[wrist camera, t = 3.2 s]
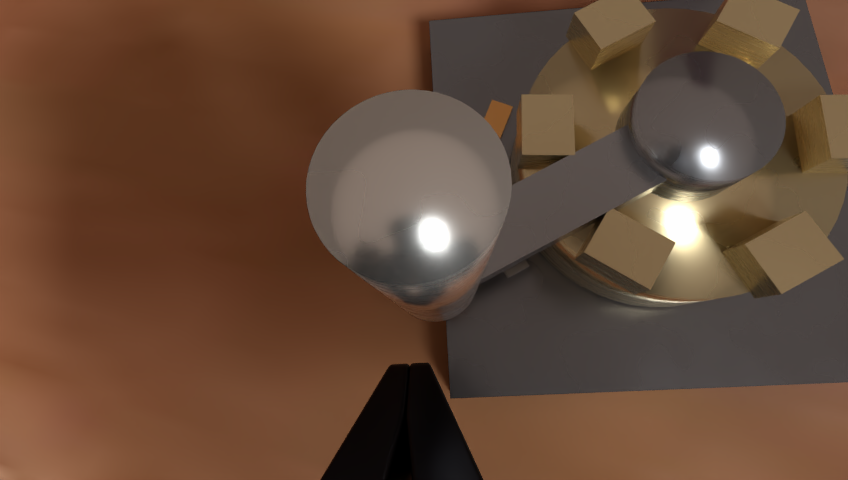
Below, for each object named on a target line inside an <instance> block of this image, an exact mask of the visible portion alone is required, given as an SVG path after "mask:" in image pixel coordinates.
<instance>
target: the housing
mask: <svg viewBox="0 0 848 480" xmlns="http://www.w3.org/2000/svg"><path fill="white" fill-rule="evenodd" d="M778 1H780V2H782V3H785V4H787V5H789V6H792V7H794V8H797V9H799V10H800V11H799V13H798V15H797V17H796V19H795V20H794V22H793V24H792V26H791V28H790V30H789V32H788V34H787V35H786V37H785V39H784V41H783V43H782V45H781V46H783V47H784V48H785V49H786V50H788V51H789V52H790V53H791V54H792V55H794V56H795V57H796V58H797V59H798V60H799V61H800V62H801V63H802V64H803V65H804V66H805V67H806V68H807V69H808V70H809V71H810V72H811V73H812V75H813V76H814V77H815V79H816V80H817V81H818V82H819V84H820V85H821V86H822V88H823V89H824V91H825V93H826V94H827V95H833V93H832V89H831V86H830V83H829V79H828V76H827V72H826V69H825V65H824V62H823V59H822V55H821V52H820V48H819V45H818V42H817V38H816V35H815V31H814V28H813V24H812V21H811V18H810V14H809V11H808V7H807V4H806V0H778ZM723 2H724V0H667V1H655V2H644V3H642V4H643V5H644V7H645V8H646V9H662V8H672V9H689V10H696V11H702V12H708V13H711V14H715V13H716V11H717V9H718V8H719V7H720V6H721V4H722V3H723ZM580 9H582V8H574V9H562V10H550V11H539V12H527V13H515V14H504V15H492V16H480V17H469V18H457V19H445V20H434V21H429V26H430V44H431V61H432V79H433V92H437V93H440V94H444V95H447V96H450V97H452V98H454V99H457V100H459V101H461V102H463V103H464V104H466V105H468V106H469V107H471V108H472V109H474V110H475V111H476V112H477V113H479V114H480V115H481V116H482V117H483V118H484V119H485V120H486V121H487V122H488V123H489V124H490V125H491V127H492V128H493V129H494V131H495V132H496V133H497V135H498V136H499V138H500V140H501V142H502V144H503V146H504V148H505V151H506V154H507V156H508V160H509V164H510V165H511V155H512V150H513V146H514V141H515V138H516V134H517V109H518V106H519V102H520V98H521V94H529V93H530V90H531V88H532V86H533V84H534V82H535V81H536V79H537V77H538V75H539V73H540V72H541V70H542V69H543V68H544V66H545V65H546V64H547V62H548V61H549V60H550V58H551V57H552V56H553V55H554V54H555V53H556V52H557V51H558V50H559V49H560V48H561V47H562V46H563V45H565V44H566V43H567V42H568V41H569V40H568V39H567V37H566V34H567V31H568V28H569V26H570V23H571V20H572V17H573V14H574V12H576V11H578V10H580ZM827 238H828V239H829V240H830V242H831V243H832V244H833V245H834V247H835V248H836V249H837V250H838V252H839V253H840V254H841V256H842V257H843V258H844V260H842V261H840V262H838V263H837V264H835V265H833V266H831V267H829V268H828V269H826V270H824V271H822V272H820V273H819V274H817V275H815V276H813V277H812V278H810V279H808V280H806V281H804V282H803V283H801V284H799V285H797V286H795V287H794V288H792V289H790V290H788V291H786V292H785V293H783V294H779V295H773V296H767V297H761V298H754V297H753V296H752V294H751V293H750V292H747V293H744V294H741V295H736V296H730V297H725V298H719V299H714V300H708V301H703V302H697V303H692V304H686V305H679V306H673V307H646V306H636V305H631V304H626V303H622V302H617V301H614V300H611V299H608V298H605V297H603V296H600V295H597V294H595V293H593V292H591V291H589V290H587V289H585V288H583V287H581V286H580V285H578V284H577V283H575V282H574V281H572V280H571V279H569V278H568V277H566V276H565V275H563V274H562V273H561V272H560V271H559V270H558V269H556V268H555V267H554V266H553V265H552V264H551V263H550V262H549V261H548V260H547V259H546V258H545V257H544V256H543V255H542V253H541V252H539V253H537V254H535V255H533V256H532V257H530V258H528V259H526V260H524V261H522V262H520V263H518V264H517V265H515V266H513V267H511V268H509V269H507V270H505V271H504V272H502V273H500V274H498V275H496V276H494V277H492V278H490V279H489V280H487V281H485V282H483V283H481V284H479V286H478V288H477V291H476V293H475V296H474V298H473V300H472V301H471V303H470V304H469V306H468V307H467V308H466V309H465V310H464V311H463V312H461V313H460V314H458V315H457V316H455V317H453V318H451V319H448V320H446V327H447V345H448V363H449V381H450V398H471V397H495V396H520V395H544V394H569V393H593V392H618V391H642V390H667V389H691V388H716V387H740V386H765V385H789V384H814V383H839V382H848V183H847V188H846V193H845V198H844V203H843V205H842V208H841V211H840V213H839V216H838V219H837V221H836V223H835V224H834V226H833V228H832V230H831V231H830V233H829V235H828V237H827Z"/></svg>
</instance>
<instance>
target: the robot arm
mask: <svg viewBox="0 0 848 480" xmlns="http://www.w3.org/2000/svg"><path fill="white" fill-rule="evenodd" d="M321 480H483V478H482V476H481V474H480V471H479V469H478V467H477V465H476V463H475V461H474V458H473V456H472V454H471V452H470V450H469V447H468V445H467V443H466V441H465V439H464V437H463V434H462V432H461V430H460V428H459V426H458V424H457V421H456V419H455V417H454V415H453V413H452V411H451V408H450V406H449V404H448V402H447V400H446V398H445V395H444V393H443V391H442V389H441V387H440V385H439V382H438V380H437V378H436V376H435V374H434V372H433V369H432V367H431V365H430V364H429V363H413V364H411V365H410V366H409V365H408V364H393V365H390V366H389V367H388V369H387V370H386V372H385V374H384V375H383V377H382V379H381V380H380V382H379V384H378V385H377V387H376V389H375V390H374V392H373V394H372V395H371V397H370V399H369V400H368V402H367V404H366V405H365V407H364V409H363V410H362V412H361V414H360V415H359V417H358V418H357V420H356V422H355V423H354V425H353V427H352V428H351V430H350V432H349V433H348V435H347V437H346V438H345V440H344V442H343V443H342V445H341V447H340V448H339V450H338V452H337V453H336V455H335V457H334V458H333V460H332V462H331V463H330V465H329V466H328V468H327V470H326V471H325V473H324V475H323V476H322V478H321Z"/></svg>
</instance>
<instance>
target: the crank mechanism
mask: <svg viewBox="0 0 848 480" xmlns="http://www.w3.org/2000/svg"><path fill="white" fill-rule="evenodd" d="M799 11H800V10H799V9H797V8H794V7H792V6H789V5H787V4H785V3H782V2H780V1H778V0H724V2H723V3H722V4H721V6H720V7H719V8H718V9H717V11H716V13H715V14H711V13H708V12H702V11H696V10H689V9H672V8H662V9H646V8H645V7H644V5H643V4H642V3H641V2H640V0H598V1H596V2H594V3H592V4H590V5H588V6H586V7H584V8H582V9H580V10H578V11H576V12H574V14H573V17H572V20H571V23H570V26H569V28H568V31H567V34H566V37H567V39H568V40H569V41H568V42H567V43H566V44H565V45H563V46H562V47H561V48H560V49H559V50H558V51H557V52H556V53H555V54H554V55H553V56H552V57H551V58H550V60H549V61H548V62H547V64H546V65H545V66H544V68H543V69H542V70H541V72H540V73H539V75H538V77H537V79H536V81H535V82H534V84H533V86H532V88H531V90H530V93H529V94H521V98H520V102H519V106H518V109H517V134H516V138H515V141H514V146H513V150H512V155H511V165H510V164H509V160H508V156H507V154H506V151H505V148H504V146H503V144H502V142H501V140H500V138H499V136H498V135H497V133H496V132H495V131H494V129H493V128H492V127H491V125H490V124H489V123H488V122H487V121H486V120H485V119H484V118H483V117H482V116H481V115H480V114H479V113H477V112H476V111H475V110H474V109H472V108H471V107H469V106H468V105H466V104H464V103H463V102H461V101H459V100H457V99H454V98H452V97H450V96H447V95H444V94H440V93H437V92H431V91H426V90H399V91H393V92H387V93H384V94H380V95H377V96H374V97H372V98H369V99H367V100H365V101H363V102H361V103H359V104H357V105H356V106H354V107H352V108H351V109H349V110H348V111H347V112H345V113H344V114H343V115H342V116H340V117H339V118H338V119H337V120H336V121H335V122H334V123H333V124H332V125H331V127H330V128H329V129H328V130H327V131H326V133H325V134H324V135H323V137H322V139H321V140H320V142H319V143H318V145H317V147H316V149H315V152H314V154H313V156H312V159H311V162H310V165H309V169H308V174H307V180H306V199H307V207H308V211H309V216H310V219H311V222H312V224H313V227H314V229H315V231H316V233H317V235H318V236H319V238H320V240H321V242H322V243H323V244H324V246H325V247H326V248H327V249H328V251H329V252H330V253H331V254H332V255H333V256H334V257H335V258H336V259H337V260H338V261H340V262H341V263H342V264H344V265H345V266H346V267H348V268H349V269H350V270H352V271H353V272H354V273H356V274H357V275H358V276H360V277H361V278H362V279H364V280H365V281H366V282H368V283H369V284H370V285H372V286H373V287H374V288H376V289H377V290H378V291H380V292H381V293H382V294H384V295H385V296H386V297H388V298H389V299H391V300H392V301H393V302H395V303H396V304H397V305H399V306H400V307H401V308H403V309H404V310H405V311H407V312H408V313H409V314H411V315H412V316H414V317H416V318H418V319H421V320H425V321H431V322H439V321H445V320H448V319H451V318H453V317H455V316H457V315H458V314H460V313H461V312H463V311H464V310H465V309H466V308H467V307H468V306H469V304H470V303H471V301H472V300H473V298H474V296H475V293H476V291H477V288H478V286H479V284H481V283H483V282H485V281H487V280H489V279H490V278H492V277H494V276H496V275H498V274H500V273H502V272H504V271H505V270H507V269H509V268H511V267H513V266H515V265H517V264H518V263H520V262H522V261H524V260H526V259H528V258H530V257H532V256H533V255H535V254H537V253H539V252H541V253H542V255H543V256H544V257H545V258H546V259H547V260H548V261H549V262H550V263H551V264H552V265H553V266H554V267H555V268H556V269H558V270H559V271H560V272H561V273H562V274H563V275H565V276H566V277H568V278H569V279H571V280H572V281H574V282H575V283H577V284H578V285H580V286H581V287H583V288H585V289H587V290H589V291H591V292H593V293H595V294H597V295H600V296H603V297H605V298H608V299H611V300H614V301H617V302H622V303H626V304H631V305H636V306H646V307H673V306H679V305H686V304H692V303H697V302H703V301H708V300H714V299H719V298H725V297H730V296H736V295H741V294H744V293H747V292H750V293H751V294H752V296H753V297H754V298H761V297H767V296H773V295H779V294H783V293H785V292H786V291H788V290H790V289H792V288H794V287H795V286H797V285H799V284H801V283H803V282H804V281H806V280H808V279H810V278H812V277H813V276H815V275H817V274H819V273H820V272H822V271H824V270H826V269H828V268H829V267H831V266H833V265H835V264H837V263H838V262H840V261H842V260H844V258H843V257H842V256H841V254H840V253H839V252H838V250H837V249H836V248H835V247H834V245H833V244H832V243H831V242H830V240H829V239H828V238H827V237H828V235H829V233H830V231H831V230H832V228H833V226H834V224H835V223H836V221H837V219H838V216H839V213H840V211H841V208H842V205H843V203H844V198H845V193H846V188H847V183H848V95H827V94H826V93H825V91H824V89H823V88H822V86H821V85H820V84H819V82H818V81H817V80H816V79H815V77H814V76H813V75H812V73H811V72H810V71H809V70H808V69H807V68H806V67H805V66H804V65H803V64H802V63H801V62H800V61H799V60H798V59H797V58H796V57H795V56H794V55H792V54H791V53H790V52H789V51H788V50H786V49H785V48H784V47H783V46H781V45H782V43H783V41H784V39H785V37H786V35H787V34H788V32H789V30H790V28H791V26H792V24H793V22H794V20H795V19H796V17H797V15H798V13H799Z"/></svg>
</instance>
